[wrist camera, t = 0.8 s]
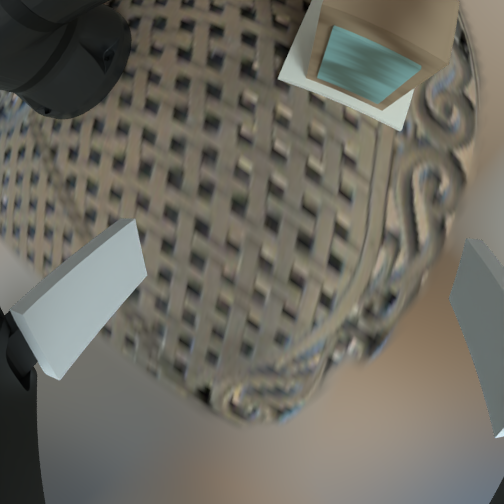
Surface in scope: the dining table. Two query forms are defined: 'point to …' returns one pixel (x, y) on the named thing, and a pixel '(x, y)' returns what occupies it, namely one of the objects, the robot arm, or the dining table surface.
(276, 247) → the dining table surface
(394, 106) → the rubber mat
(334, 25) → the tan box
